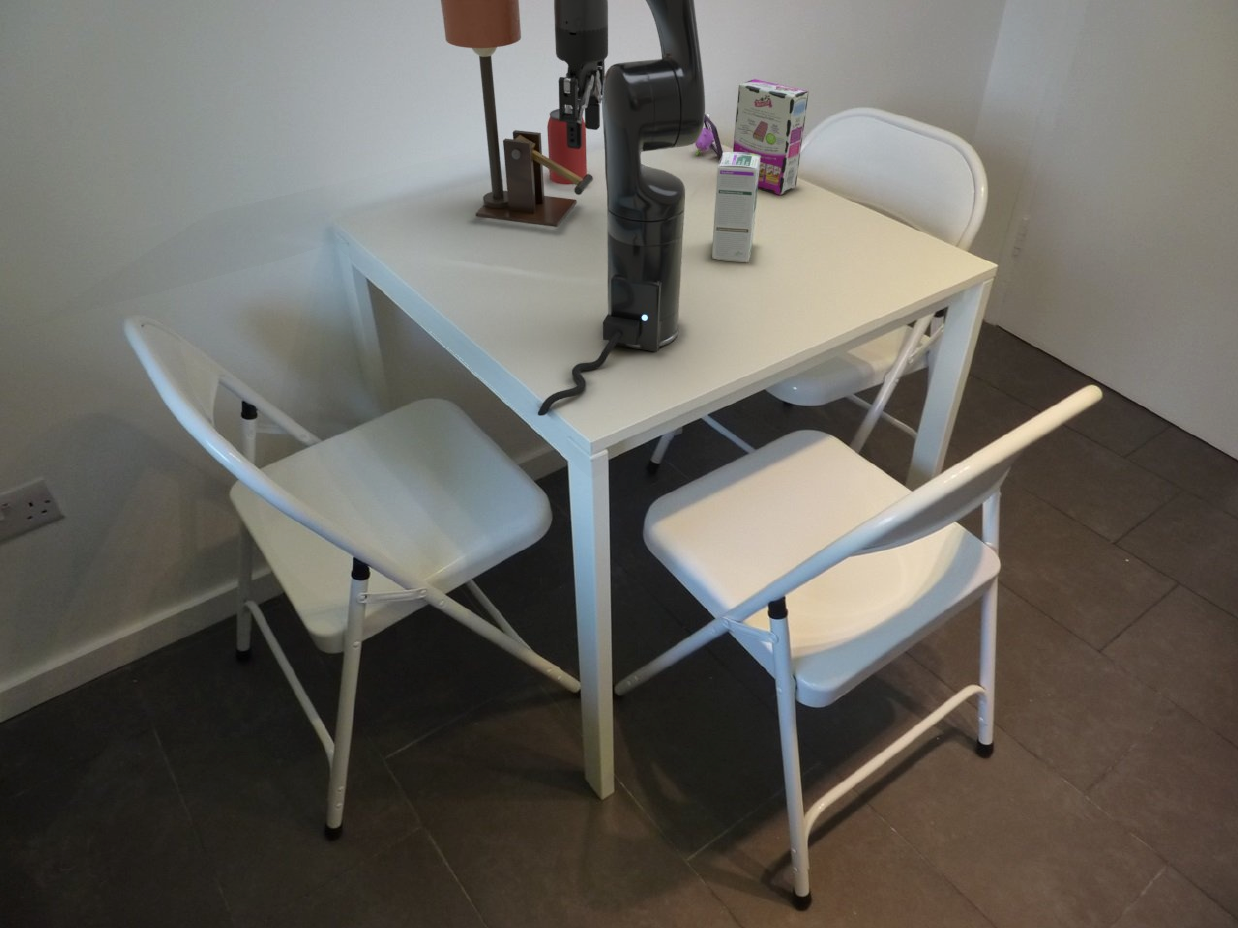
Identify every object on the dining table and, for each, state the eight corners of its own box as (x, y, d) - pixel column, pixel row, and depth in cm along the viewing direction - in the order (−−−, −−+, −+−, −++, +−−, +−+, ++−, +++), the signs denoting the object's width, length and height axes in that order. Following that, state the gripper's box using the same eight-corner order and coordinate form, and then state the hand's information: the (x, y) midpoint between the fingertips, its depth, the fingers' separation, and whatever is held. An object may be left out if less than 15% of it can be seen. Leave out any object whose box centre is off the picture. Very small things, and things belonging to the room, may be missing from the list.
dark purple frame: (720, 125, 153) (706, 110, 160) (693, 137, 154) (681, 121, 160) (728, 159, 158) (715, 143, 164) (702, 170, 158) (690, 153, 165)
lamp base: (577, 208, 141) (574, 130, 133) (557, 233, 134) (553, 152, 126) (500, 198, 144) (493, 122, 136) (476, 222, 137) (467, 142, 129)
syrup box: (749, 263, 126) (759, 167, 117) (709, 259, 127) (717, 164, 118) (752, 246, 130) (762, 153, 121) (714, 243, 131) (721, 150, 122)
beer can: (544, 187, 148) (540, 117, 140) (557, 174, 153) (554, 105, 145) (579, 192, 147) (577, 121, 139) (591, 178, 151) (590, 109, 144)
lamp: (517, 220, 134) (499, -5, 113) (454, 211, 136) (425, -11, 116) (541, 194, 142) (529, -21, 121) (481, 186, 144) (459, -26, 124)
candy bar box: (797, 188, 148) (811, 90, 138) (781, 196, 145) (793, 97, 135) (745, 172, 154) (754, 77, 143) (729, 179, 151) (737, 83, 140)
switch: (589, 186, 136) (595, 173, 134) (578, 199, 132) (584, 186, 130) (518, 144, 135) (523, 131, 133) (505, 156, 131) (510, 143, 129)
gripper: (572, 8, 124) (575, 120, 134) (538, 31, 113) (544, 152, 124) (621, 12, 122) (620, 125, 133) (591, 36, 112) (592, 157, 122)
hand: (583, 138), depth 128 cm, fingers open, 8 cm apart
